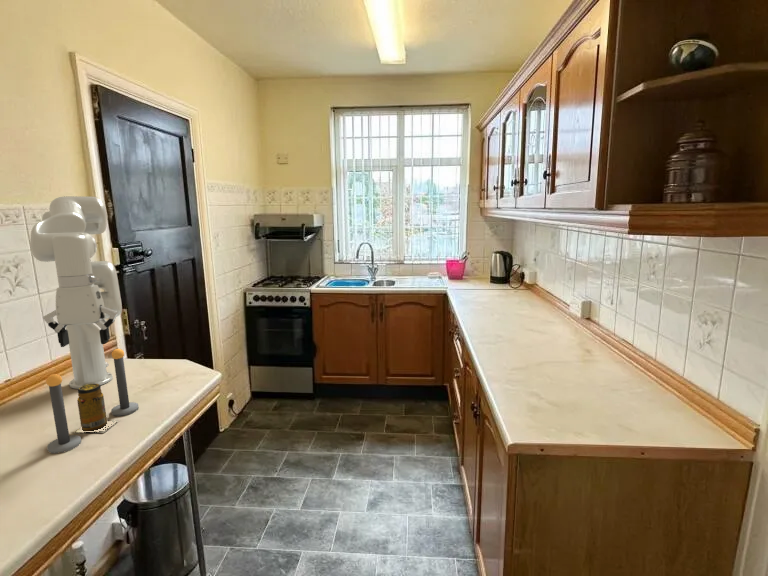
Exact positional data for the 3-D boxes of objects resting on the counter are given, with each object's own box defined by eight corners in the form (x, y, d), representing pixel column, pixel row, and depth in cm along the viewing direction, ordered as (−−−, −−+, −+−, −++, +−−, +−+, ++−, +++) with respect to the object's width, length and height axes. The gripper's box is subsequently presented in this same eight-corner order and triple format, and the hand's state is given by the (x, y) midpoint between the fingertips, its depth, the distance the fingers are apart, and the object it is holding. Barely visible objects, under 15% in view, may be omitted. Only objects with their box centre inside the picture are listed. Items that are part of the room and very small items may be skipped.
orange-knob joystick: (56, 440, 114) (45, 370, 110) (86, 437, 115) (75, 368, 111) (41, 454, 107) (28, 381, 103) (73, 451, 108) (61, 378, 104)
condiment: (91, 420, 124) (85, 381, 122) (120, 420, 124) (115, 381, 122) (73, 433, 117) (66, 392, 115) (104, 433, 117) (98, 392, 114)
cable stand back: (117, 406, 133) (109, 346, 129) (141, 404, 134) (134, 344, 130) (107, 417, 126) (98, 353, 122) (133, 414, 127) (125, 352, 123)
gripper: (118, 277, 118) (125, 337, 121) (47, 280, 114) (56, 342, 117) (106, 282, 110) (114, 345, 113) (30, 285, 107) (41, 351, 110)
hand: (85, 344), depth 115 cm, fingers open, 9 cm apart
